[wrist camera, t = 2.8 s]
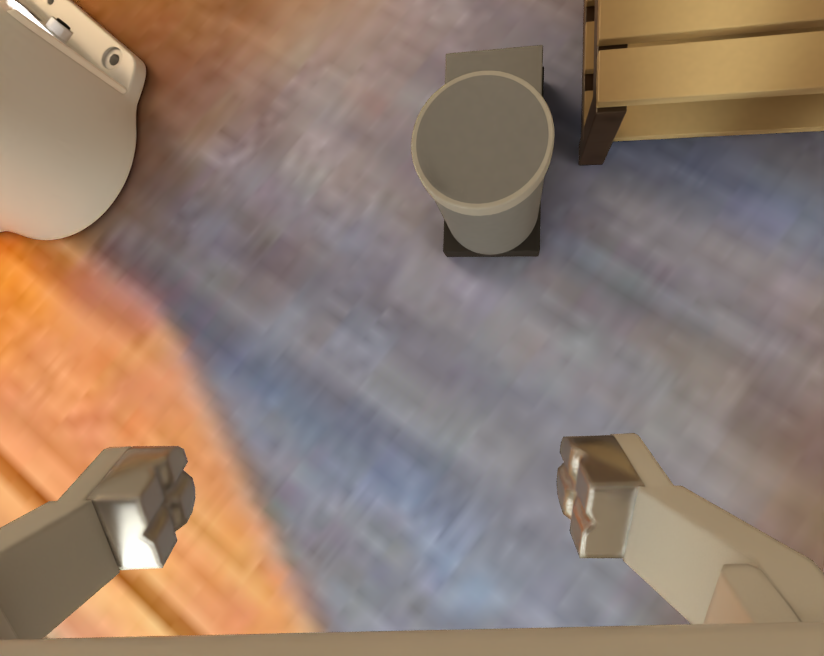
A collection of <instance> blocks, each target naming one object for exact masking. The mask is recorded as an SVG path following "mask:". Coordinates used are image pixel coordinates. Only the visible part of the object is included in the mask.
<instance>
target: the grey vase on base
mask: <svg viewBox="0 0 824 656" xmlns="http://www.w3.org/2000/svg"><path fill="white" fill-rule="evenodd" d="M542 64H543V45H537V46H526V47H516V48H505V49H494V50H483V51H472V52H461V53H450V54H446V69H445V85H444V86H442V87H441V88H440V89H438V90H437V91H436V92H435V93H434V94H433V95H432V96H431V97H430V98H429V100H428V101H427V102H426V104H425V105H424V106H423V108H422V110H421V112H420V113H419V115H418V117H417V120H416V123H415V125H414V129H413V133H412V141H411V153H412V159H413V163H414V167H415V170H416V172H417V174H418V176H419V178H420V180H421V182H422V184H423V185H424V187H425V189H426V190H427V192H428V193H429V194H430V195H431V196H432V197H433V198H434V200H435V202H436V204H437V206H438V208H439V210H440V211H441V213H442V215H443V217H444V244H443V251H444V253H445V255H446V256H447V257H494V256H538V255H539V250H540V209H541V195H542V189H543V183H544V177H545V174H546V172H547V170H548V167H549V164H550V161H551V157H552V152H553V146H554V136H555V135H554V124H553V118H552V115H551V112H550V109H549V107H548V105H547V103H546V102H545V100H544V99H543V85H544V67H542Z"/></svg>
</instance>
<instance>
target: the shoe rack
mask: <svg viewBox="0 0 824 656" xmlns="http://www.w3.org/2000/svg"><path fill="white" fill-rule="evenodd" d="M808 131H824V0H584V14H583V65H582V115H581V139H580V142H579V165H601V164H603V162H604V160H605V158H606V156H607V154H608V151H609V149H610V147H611V145H612V142H613V141H630V140H650V139H670V138H689V137H709V136H729V135H749V134H769V133H788V132H808Z"/></svg>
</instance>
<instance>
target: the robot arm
mask: <svg viewBox="0 0 824 656" xmlns="http://www.w3.org/2000/svg"><path fill="white" fill-rule="evenodd" d="M145 78H146V67H145V64H144V63H143V61H142V60H141V59H140V58H138V57H137V56H136V55H135V54H134V53H133V52H131V51H130V50H129V49H128V48H127V47H126V46H124V45H123V44H122V43H121V42H120V41H119V40H117V39H116V38H115V37H114V36H113V35H112V34H111V33H109V32H108V31H107V30H106V29H105V28H104V27H102V26H101V25H100V24H99V23H98V22H97V21H95V20H94V19H93V18H92V17H91V16H90V15H88V14H87V13H86V12H85V11H84V10H83V9H81V8H80V7H79V6H78V5H77V4H76V3H74V2H73V1H72V0H0V232H4V231H9V232H14V233H17V234H20V235H22V236H25V237H28V238H32V239H37V240H55V239H61V238H65V237H68V236H71V235H73V234H76V233H78V232H80V231H82V230H83V229H85V228H87V227H88V226H90V225H91V224H92V223H94V222H95V221H96V220H97V219H98V218H100V217H101V216H102V215H103V214H104V213H105V212H106V210H107V209H108V208H109V207H110V206H111V205H112V203H113V202H114V201H115V199H116V198H117V196H118V195H119V193H120V191H121V190H122V188H123V186H124V184H125V182H126V179H127V177H128V175H129V172H130V169H131V166H132V163H133V158H134V154H135V148H136V135H137V130H136V110H137V104H138V101H139V98H140V95H141V92H142V89H143V86H144V82H145ZM560 454H561V457H562V459H563V461H564V463H563V464H562V465H561V466H560V467H559V468H558V470H557V481H556V482H557V495H558V499H559V503H560V506H561V509H562V512H563V514H564V515H565V516H567V517H568V518H569V519H570V520H571V523H570V534H571V536H572V539H573V541H574V544H575V547H576V549H577V552H578V554H579V557H580V558H623V561H624V562H625V563H626V564H628V565H629V566H630V567H631V568H632V569H633V570H634V571H635V572H636V573H637V574H638V575H639V576H640V577H641V578H643V579H644V580H645V581H646V582H647V583H648V584H649V585H650V586H651V587H652V588H653V589H654V590H655V591H657V592H658V593H659V594H660V595H661V596H662V597H663V598H664V599H665V600H666V601H667V602H668V603H669V604H671V605H672V606H673V607H674V608H675V609H676V610H677V611H678V612H679V613H680V614H681V615H682V616H683V617H685V618H686V619H687V620H688V621H689V622H690V623H691V624H689V625H644V626H600V627H557V628H510V629H462V630H414V631H369V632H324V633H279V634H235V635H189V636H144V637H99V638H54V639H43V638H44V637H45V636H46V635H47V634H49V633H50V632H51V631H52V630H53V629H54V628H56V627H57V626H58V625H59V624H60V623H61V622H63V621H64V620H65V619H66V618H67V617H68V616H70V615H71V614H72V613H73V612H74V611H75V610H76V609H78V608H79V607H80V606H81V605H82V604H83V603H85V602H86V601H87V600H88V599H89V598H90V597H92V596H93V595H94V594H95V593H96V592H97V591H99V590H100V589H101V588H102V587H103V586H104V585H106V584H107V583H108V582H109V581H110V580H111V579H113V578H114V577H115V576H116V575H117V574H118V573H119V572H120V571H119V570H129V569H148V568H163V566H164V564H165V562H166V560H167V558H168V557H169V555H170V553H171V551H172V549H173V547H174V546H175V544H176V542H177V538H176V534H175V531H176V530H178V529H179V528H181V527H182V526H183V525H185V524H186V523H187V521H188V519H189V517H190V515H191V513H192V511H193V506H194V502H195V486H194V482H193V478H192V477H191V476H189V475H188V474H187V473H186V472H185V471H184V470H183V469H184V467H185V466H186V464H187V462H188V461H187V458H186V455H185V452H184V449H182V448H181V447H179V446H134V447H109V448H107V449H104V450H103V451H102V452H101V453H100V454H99V455H98V456H97V457H96V459H95V460H94V461H93V462H92V463H91V464H90V465H89V466H88V467H87V469H86V470H85V471H84V472H83V473H82V474H81V475H80V476H79V477H78V478H77V480H76V481H75V482H74V483H73V484H72V485H71V486H70V487H69V488H68V490H67V491H66V492H65V493H64V494H63V495H62V496H61V497H60V498H59V500H58V501H49V502H47V503H45V504H44V505H42V506H40V507H38V508H36V509H34V510H32V511H31V512H29V513H27V514H25V515H23V516H21V517H19V518H18V519H16V520H14V521H12V522H10V523H8V524H7V525H5V526H3V527H1V528H0V656H824V573H823V572H822V571H821V570H820V568H819V567H818V566H817V565H816V564H815V563H814V562H813V561H812V560H811V559H809V558H807V557H805V556H804V555H802V554H800V553H798V552H797V551H795V550H793V549H791V548H790V547H788V546H786V545H784V544H783V543H781V542H779V541H777V540H776V539H774V538H772V537H770V536H769V535H767V534H765V533H763V532H762V531H760V530H758V529H756V528H755V527H753V526H751V525H749V524H748V523H746V522H744V521H742V520H741V519H739V518H737V517H735V516H734V515H732V514H730V513H728V512H727V511H725V510H723V509H721V508H720V507H718V506H716V505H714V504H713V503H711V502H709V501H707V500H706V499H704V498H702V497H700V496H699V495H697V494H695V493H693V492H692V491H690V490H688V489H686V488H685V487H683V486H674V485H673V484H672V482H671V481H670V479H669V478H668V477H667V475H666V474H665V472H664V471H663V469H662V468H661V467H660V465H659V464H658V462H657V461H656V460H655V458H654V457H653V455H652V454H651V452H650V451H649V450H648V448H647V447H646V445H645V444H644V443H643V441H642V440H641V438H640V437H639V436H638V435H637V434H635V433H627V434H611V435H599V436H567V437H563V438H562V441H561V445H560Z"/></svg>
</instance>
